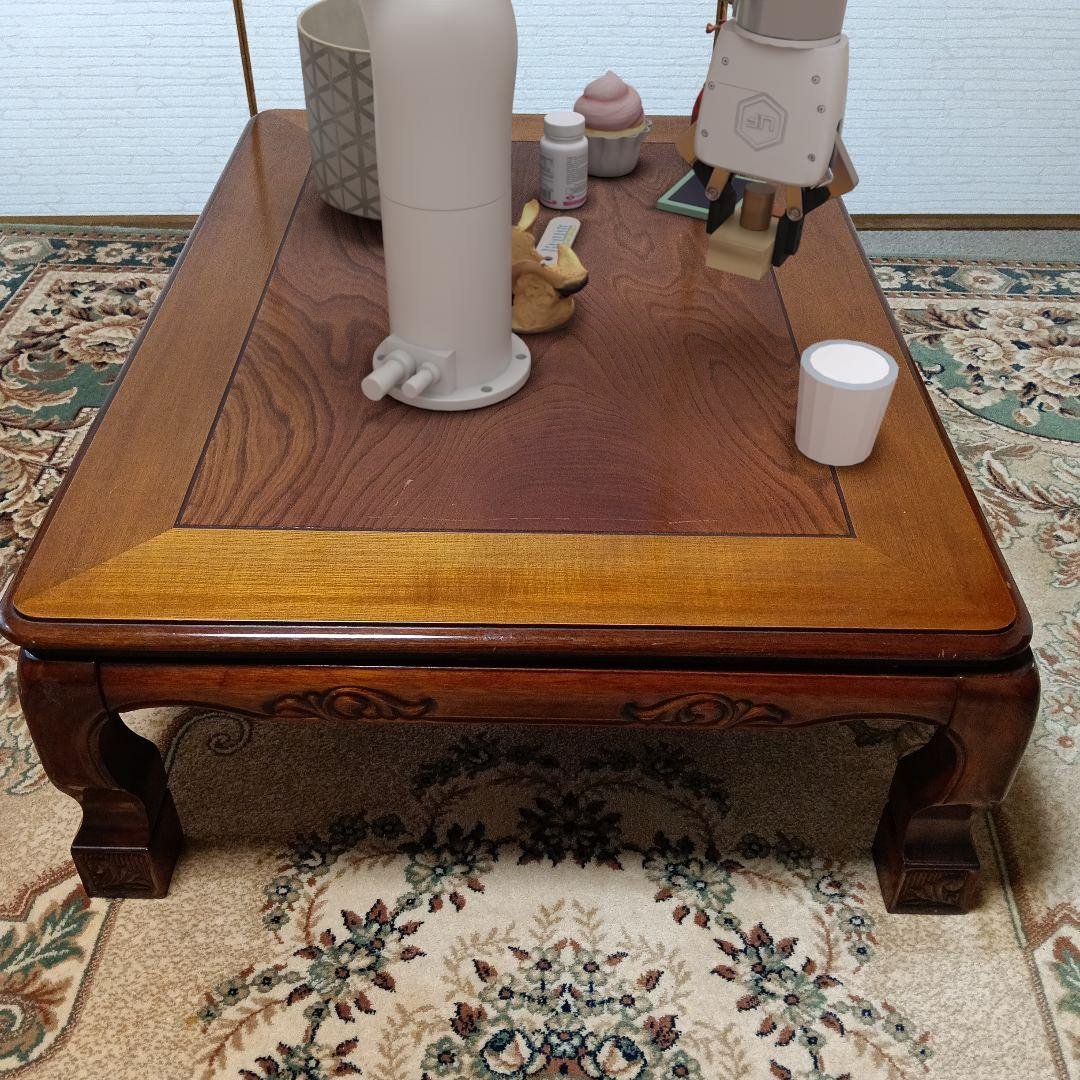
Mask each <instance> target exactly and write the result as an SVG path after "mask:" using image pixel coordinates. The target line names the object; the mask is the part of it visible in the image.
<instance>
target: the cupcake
mask: <svg viewBox="0 0 1080 1080" xmlns="http://www.w3.org/2000/svg"><path fill="white" fill-rule="evenodd" d="M572 112H576V113H579V114H581V115H583V116H584V118H585V133H584V136H585V137H586V138H587V140H588V168H587V175H590V176H593V177H594V176H595V177H601V178H616V177H621V176H625V175H628V174H629V173H632V172H633V171H634V169H635V168H636V166H637V164H638V160H639V158H640V154H641V149H642V145H643V143H644V142H645V140H646V138H647V137H648V135H649V134H650V133H651V128H650V127H651V126H652V124H653V122H652V120H650V119H648V118H646V114H645V110H644V107H643V102H642V98H641V96H640V94H639V92H638V91H637V89H636V88H635V87H634V86H633V85H630V84H628V83H626V82H624V81H623V79H622V78H620V76H618V75H617V74H616V73H615V72H614V71H612V70H610V69H608V71H606V73H604V74H603V75H602V76H600V77H599V78H596V79H595V80H593V81H591V82H589V83H588V84H587V85H586V86H585V88H584V90H583V93H582V95H581V96H579V97H578V98H577V99H576V101H575V103H574V105H573V110H572Z"/></svg>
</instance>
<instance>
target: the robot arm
mask: <svg viewBox="0 0 1080 1080" xmlns="http://www.w3.org/2000/svg"><path fill="white" fill-rule="evenodd" d="M720 1H721V2H727V4H728V5H729V6H731V9H732V12H731V13H732V14H731V18H730V19H729V20H727V21H726V22H724V23H723V24H722V23H721V24H722V26H721V29H720V30H719V32H718V35H717V38H716V41H715V45H714V48H713V51H712V54H711V58H710V63H709V65H708V70H707V74H706V78H705V81H706V82H704V83H705V87H704V91H703V96H702V100H701V105H700V110H699V115H698V119H697V120H696V121H695V122H694V123H693V124H692V125H691V124H690V126H689V127H688V128H687V129H686V130H685V131H684V132H683V133H682V134H681V136H680V137H679V138H678V139H676V141H675V142H674V149H675V150H676V152H677V153H678V154H679V155H680V156H681V157H682V158H683V160H684V161H685V162H686V163H687V164H688V165H690V166H691V168H692V169H693V171H694V173H695V174H696V176H697V177H698V179H699V180H700V182H701V183H702V185H703V186H704V188H705V189H706V191H705V194H706V197H707V198H708V199H709V200H710V204H709V211H708V219H707V220H706V227H705V233H706V234H708V235H709V237H710V236H711V235H712V234H713V233H714V232H715V231H716V230H717V229H718V228H719V227H720V226H721V225H722V224H723V223H724V222H725V221H726V220H727V219H728V218H729V217H730V216H731V215H732V214H733V213H734V212H735V206H736V199H737V194H735V193H736V190H733V186H732V183H733V181H734V179H735V176H736V175H737V174H739V175H741V176H742V175H743V176H747V177H750V178H755V179H758V180H762V181H766V182H767V181H768V182H772V183H777V184H780V185H784V188H785V189H784V191H785V206H786V207H785V208H784V209H785V213H784V214H783V215H782V216H781V217H780V219H779V221H778V225H777V231H776V236H775V244H774V250H773V255H772V261H771V264H773V265H772V267H775V268H779V269H780V268H781V267H782V266H783V264H784V263H785V262H786V261H787V259H788V258H789V257H790V256H793V257H794V256H795V255H796V254H797V253H798V250H799V248H800V244H801V240H802V234H803V229H804V223H805V217H806V215H808V214H809V213H811V212H812V211H814V210H816V209H817V208H819V207H821V206H822V205H823V204H825V203H826V202H828V201H832V200H834V199H836V198H839V197H841V196H844V195H845V194H849V193H851V192H852V191H854V189H855V188H856V187H857V186H858V184H859V183H860V177H859V175H858V173H857V170H856V167H854V163H853V161H852V159H851V157H850V155H849V153H848V150H847V148H846V146H845V144H844V141H843V139H842V136H843V129H844V124H845V123H844V122H845V114H846V107H847V96H848V85H849V68H850V39H849V35H847V34H845V33H843V32H842V29H843V25H844V20H845V15H846V11H847V5H848V0H720ZM351 2H352V3H353V4H354V5H355V6H356V8H357V9H358V10H359V12H360V13H361V14H362V17H363V22H364V25H365V28H366V31H367V35H368V41H369V48H370V55H371V64H372V76H373V95H374V120H375V140H376V158H377V170H378V184H379V190H380V203H381V216H382V222H381V227H382V242H383V243H382V244H383V256H384V257H383V258H384V269H385V281H386V282H385V283H386V294H387V295H386V297H387V310H388V321H389V323H388V324H389V335H388V336H387V337H385V339H383V340H382V341H381V342H380V344H379V345H378V346H377V347H376V349H375V351H374V353H373V355H372V370H373V371H372V372H371V373H369V374H368V375H367V376H365V377H364V378H362V381H361V383H360V387H361V390H362V392H363V394H364V395H365V396H366V397H367V398H368V399H369V400H371V401H374V402H378V401H380V400H381V399H382V398H384V397H385V396H386V395H389V396H390V397H392V398H393V399H395V400H397V401H400V402H401V403H404V404H406V405H409V406H413V407H416V408H420V409H426V410H432V411H443V412H446V411H447V412H455V411H467V410H468V411H469V410H474V409H480V408H483V407H487V406H491V405H494V404H497V403H499V402H501V401H503V400H506V399H508V398H509V397H511V396H512V395H514V394H516V393H517V392H518V391H519V390H520V389H521V388H523V387H524V385H525V384H526V382H527V381H528V380H529V377H530V375H531V370H532V356H531V352H530V349H529V347H528V346H527V344H526V343H525V342H524V339H522V338H520V337H519V336H518V335H517V334H515V332H512V306H513V305H512V301H513V300H512V295H513V292H512V290H511V226H512V128H513V127H512V125H513V122H512V121H513V111H514V110H513V108H514V98H515V87H516V79H517V72H518V71H517V70H518V57H519V35H518V26H517V21H516V15H515V9H514V7H513V3H512V0H351ZM828 169H829V170H830V172H831V174H832V178H830V179H829V180H825V181H822V182H820V181H821V180H822V179H823V178H824V177H825V175H826V172H827V170H828ZM819 182H820V183H819Z"/></svg>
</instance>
